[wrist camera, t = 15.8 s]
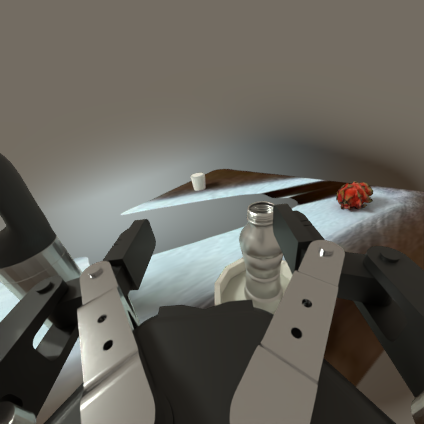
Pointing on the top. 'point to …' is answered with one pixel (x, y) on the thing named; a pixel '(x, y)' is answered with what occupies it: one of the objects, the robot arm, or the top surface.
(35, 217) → the robot arm
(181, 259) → the top surface
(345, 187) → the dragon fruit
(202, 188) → the white cup
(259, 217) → the plastic bottle
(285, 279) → the bowl
